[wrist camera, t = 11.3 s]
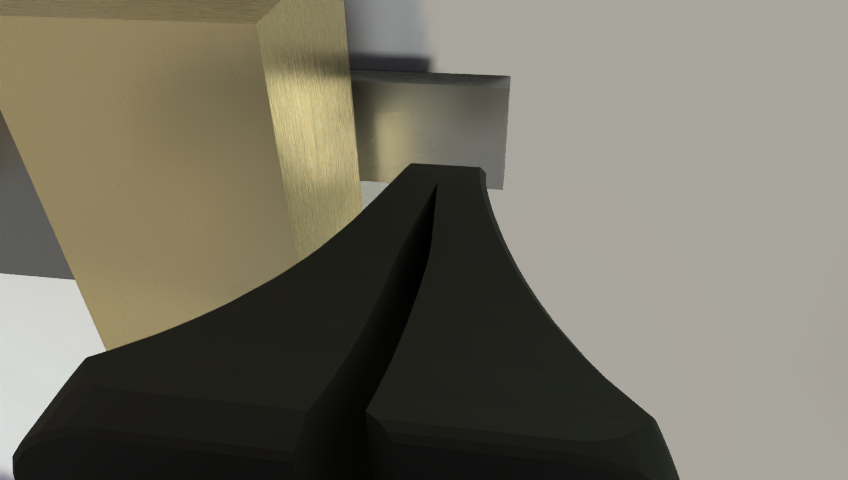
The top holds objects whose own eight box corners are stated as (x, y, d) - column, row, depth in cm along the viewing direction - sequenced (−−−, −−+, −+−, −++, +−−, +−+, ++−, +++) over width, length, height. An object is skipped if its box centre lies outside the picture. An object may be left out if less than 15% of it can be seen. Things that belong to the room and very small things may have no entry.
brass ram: (370, 299, 16) (326, 436, 13) (213, 285, 16) (134, 413, 13) (338, -54, 11) (255, 23, 8) (119, -58, 12) (-42, 14, 8)
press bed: (496, 285, 17) (488, 379, 14) (-233, 225, 20) (-348, 294, 17) (522, -102, 12) (515, -61, 9) (-486, -109, 14) (-708, -79, 12)
